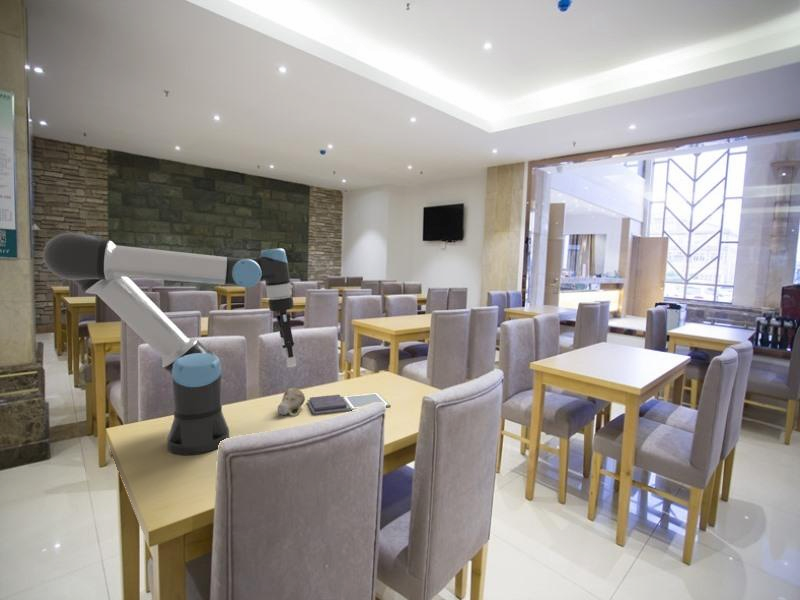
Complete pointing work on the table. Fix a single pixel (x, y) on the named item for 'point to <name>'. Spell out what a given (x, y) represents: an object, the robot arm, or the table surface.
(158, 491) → the table surface
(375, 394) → the marked board
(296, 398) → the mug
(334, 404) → the ink pad
